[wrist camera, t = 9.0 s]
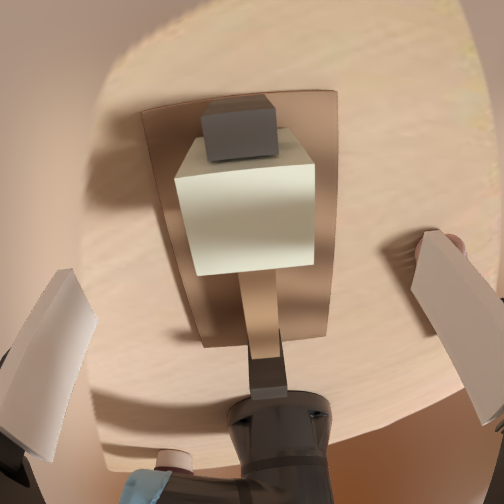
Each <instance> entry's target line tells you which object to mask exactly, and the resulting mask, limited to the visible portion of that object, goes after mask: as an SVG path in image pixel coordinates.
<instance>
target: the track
mask: <svg viewBox="0 0 504 504" xmlns="http://www.w3.org/2000/svg"><path fill="white" fill-rule="evenodd" d="M141 115H142V120H143V125H144V130H145V135H146V140H147V145H148V149H149V154H150V159H151V163H152V168H153V172H154V176H155V181H156V185H157V189H158V193H159V197H160V201H161V205H162V209H163V213H164V217H165V221H166V225H167V229H168V232H169V236H170V240H171V243H172V247H173V251H174V254H175V258H176V261H177V265H178V268H179V271H180V275H181V278H182V282H183V285H184V288H185V291H186V295H187V298H188V301H189V304H190V307H191V311H192V314H193V317H194V320H195V323H196V326H197V329H198V332H199V335H200V338H201V341H202V344H203V347H204V348H210V347H226V346H240V345H248V362H249V386H250V393H251V398H252V400H260V399H271V398H281V397H287V379H286V372H285V364H284V357H283V349H282V342H283V341H292V340H300V339H308V338H316V337H323V336H326V330H327V322H328V313H329V304H330V295H331V284H332V273H333V261H334V248H335V232H336V214H337V190H338V92H337V91H334V90H319V91H286V92H269V93H256V94H245V95H236V96H227V97H219V98H212V99H205V100H198V101H192V102H186V103H180V104H175V105H169V106H164V107H159V108H154V109H150V110H145V111H143V112H141ZM281 128H289V129H290V130H291V132H292V133H293V134H294V136H295V137H296V138H297V140H298V141H299V142H300V144H301V145H302V147H303V148H304V149H305V151H306V152H307V154H308V155H309V156H310V158H311V159H312V161H313V162H314V164H315V238H314V265H305V266H295V267H286V268H276V269H266V270H256V271H246V272H235V273H225V274H214V275H203V276H197V274H196V270H195V266H194V262H193V258H192V254H191V250H190V246H189V242H188V238H187V234H186V229H185V225H184V221H183V216H182V212H181V208H180V203H179V199H178V194H177V189H176V185H175V180H174V178H175V176H176V174H177V172H178V170H179V168H180V166H181V164H182V163H183V161H184V159H185V157H186V155H187V153H188V151H189V149H190V148H191V146H192V144H193V142H194V140H195V139H196V138H198V137H204V142H205V149H206V155H207V161H208V162H209V161H217V160H225V159H234V158H243V157H253V156H264V155H276V154H279V147H278V133H277V129H281Z"/></svg>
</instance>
